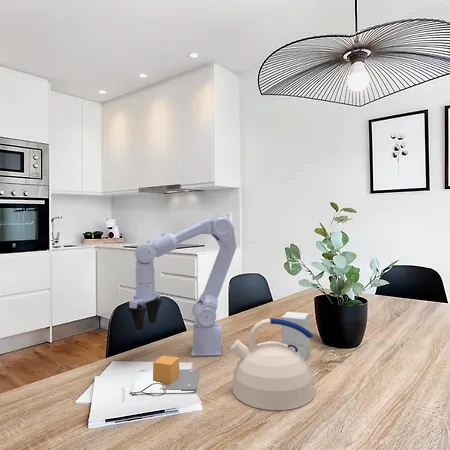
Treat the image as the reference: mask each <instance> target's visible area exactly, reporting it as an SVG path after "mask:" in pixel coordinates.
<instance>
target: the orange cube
mask: <svg viewBox="0 0 450 450" xmlns="http://www.w3.org/2000/svg"><path fill="white" fill-rule="evenodd" d="M179 369H180V357H177V356H168V355H162V356H160V357H159V358H157V359H156V360H155V361H153V362H152V370H153V381H156V382H160V383H165V384H172V383H173V382H174V381H175V380H176V379H177V378H178V377H179Z"/></svg>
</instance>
